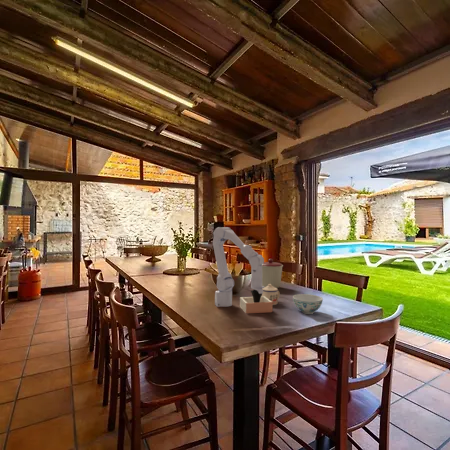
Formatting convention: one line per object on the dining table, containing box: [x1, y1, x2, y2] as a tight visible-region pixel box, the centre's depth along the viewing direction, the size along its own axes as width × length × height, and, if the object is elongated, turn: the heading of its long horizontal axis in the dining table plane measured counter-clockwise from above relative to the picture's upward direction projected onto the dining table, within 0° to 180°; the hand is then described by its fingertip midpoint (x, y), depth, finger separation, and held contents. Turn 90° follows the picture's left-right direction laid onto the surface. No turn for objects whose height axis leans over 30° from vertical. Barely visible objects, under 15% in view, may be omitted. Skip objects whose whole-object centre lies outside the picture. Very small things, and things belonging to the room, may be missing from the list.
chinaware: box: [292, 293, 324, 315], centre depth 150 cm, size 15×15×8 cm
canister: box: [262, 258, 284, 289], centre depth 210 cm, size 18×18×21 cm
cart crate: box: [239, 296, 272, 314], centre depth 151 cm, size 14×12×6 cm
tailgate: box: [245, 302, 273, 314], centre depth 145 cm, size 14×1×5 cm, turn 101°
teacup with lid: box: [262, 284, 281, 306], centre depth 165 cm, size 12×9×12 cm
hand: (256, 304), depth 150 cm, fingers closed
